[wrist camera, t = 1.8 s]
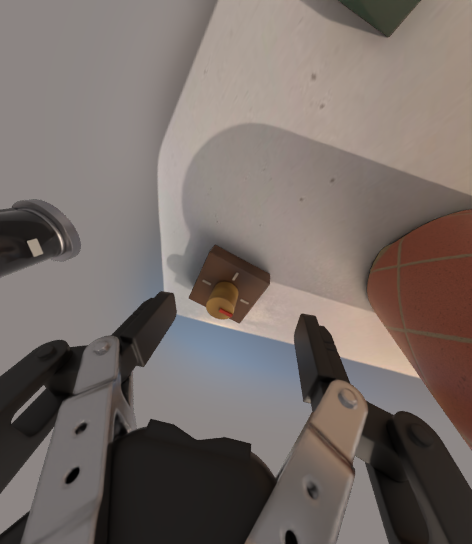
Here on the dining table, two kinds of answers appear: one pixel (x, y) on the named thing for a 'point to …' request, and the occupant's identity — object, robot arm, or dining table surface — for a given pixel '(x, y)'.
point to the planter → (432, 308)
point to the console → (230, 280)
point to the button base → (382, 12)
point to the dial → (222, 300)
